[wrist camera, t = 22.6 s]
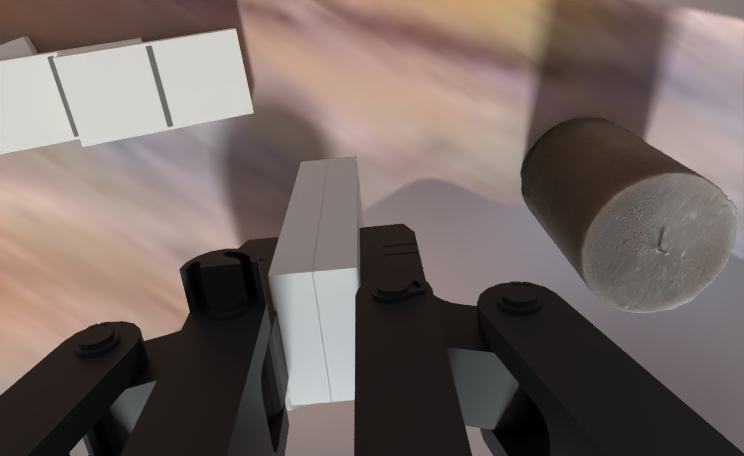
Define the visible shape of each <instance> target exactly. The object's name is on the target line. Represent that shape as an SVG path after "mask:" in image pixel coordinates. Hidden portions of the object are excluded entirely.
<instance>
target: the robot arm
mask: <svg viewBox="0 0 744 456" xmlns="http://www.w3.org/2000/svg"><path fill="white" fill-rule="evenodd" d="M363 225H364V224H363V214H362V205H361V195H360V186H359V177H358V167H357V158H356V156H355V157H345V158H335V159H324V160H314V161H304V162H301V164H300V167H299V171H298V174H297V178H296V181H295V185H294V188H293V191H292V195H291V198H290V202H289V205H288V209H287V212H286V215H285V219H284V222H283V226H282V229H281V233H280V236H279V237H275V238H265V239H254V240H248V241H247V242H246V243H245V244H243V245H242V246H241V247H240V248H238V249H222V250H217V251H211V252H208V253H205V254H202V255H199V256H197V257H195V258H193V259H192V260H190V261H188V262H186V263H185V264H184V265H183V266H182V267H181V268H180V269H179V270H180V274H181V278H182V282H183V286H184V290H185V294H186V298H187V302H188V306H189V310H190V313H189V315H188V317H187V319H186V321H185V323H184V325H183V327H182V329H181V331H178V332H175V333H172V334H169V335H165V336H161V337H158V338H154V339H150V340H147V341H143V337H142V334H141V330H140V328H139V327H137V326H136V325H135V324H134V323H128V322H123V321H120V322H104V323H100V324H99V325H98V324H95V325H92V326H89V327H88V328H87V329H85V330H82V331H80V332H78V333H76V334H74V335H73V336H71V337H70V338H68V339H67V340H65V341H64V342H62V343H61V344H60V345H59V346H58V347H57V348H55V349H54V350H53V351H52V352H51V353H50V354H48V355H47V356H46V357H45V358H44V359H43V360H41V361H40V362H39V363H38V364H37V365H36V366H34V367H33V368H32V369H31V370H30V371H29V372H27V373H26V374H25V375H24V376H23V377H22V378H20V379H19V380H18V381H17V382H16V383H15V384H13V385H12V386H11V387H10V388H9V389H8V390H6V391H5V392H4V393H3V394H2V395H0V456H70V454H69V453H70V451H71V450H72V449H73V448H74V447H75V446H76V444H77V443H78V442H79V441H80V440H81V439H82V438H83V440H84V443H85V445H86V448H87V451H88V453H89V455H88V456H285V449H286V442H287V435H288V428H289V421H288V415H287V409H286V404H285V398H286V392H287V386H288V388H289V394H290V399H291V405H303V404H314V403H325V402H336V401H347V400H355V434H354V435H355V438H354V443H355V444H354V456H472V453H471V449H470V445H469V441H468V436H467V432H466V428H465V425H466V426H473V427H479V428H480V431H481V433H482V436H483V439H484V441H485V443H486V445H487V446H488V448H489V450H490V451H491V453H492V454H493V456H744V453H743V452H741V451H740V450H739V449H738V448H737V447H736V446H734V445H733V444H732V443H731V442H729V440H727V439H726V438H725V437H724V436H723V435H722V434H720V433H719V432H718V431H717V430H716V429H715V428H713V427H712V426H711V425H710V424H709V423H707V422H706V421H705V420H704V419H703V418H702V417H700V416H699V415H698V414H697V413H696V412H694V410H692V409H691V408H690V407H689V406H687V405H686V404H685V403H684V402H683V401H682V400H681V399H679V398H678V397H677V396H676V395H675V394H673V393H672V392H671V391H670V390H669V389H668V388H666V387H665V386H664V385H663V384H662V383H661V382H660V381H658V380H657V379H656V378H655V377H654V376H652V375H651V374H650V373H649V372H648V371H647V370H645V369H644V368H643V367H642V366H641V365H640V364H638V363H637V362H636V361H635V360H634V359H633V358H631V357H630V356H629V355H628V354H627V353H626V352H624V351H623V350H622V349H621V348H620V347H618V346H617V345H616V344H615V343H614V342H613V341H611V340H610V339H609V338H608V337H607V336H606V335H604V334H603V333H602V332H601V331H600V330H598V329H597V328H596V327H595V326H594V325H593V324H592V323H590V322H589V321H588V320H587V319H586V318H585V317H583V316H582V315H581V314H580V313H579V312H578V311H576V310H575V309H574V308H573V307H571V306H570V305H569V304H568V303H567V302H566V301H565V300H563V299H562V298H561V297H560V296H559V295H557V294H556V293H555V292H553V291H551V290H549V289H548V288H546V287H543V286H539V285H536V284H532V283H530V282H522V283H521V282H510V283H502V284H499V285H495V286H493V287H490V288H488V289H486V290H485V291H484V292H483V293H481V294H480V296H479V299H478V302H477V306H471V305H462V304H455V303H451V302H448V301H444V300H442V299H440V298H438V297H436V296H435V295H434V294H433V290H432V288H431V286H430V285H429V283H428V282H427V281H426V280H425V276H424V271H423V267H422V263H421V258H420V254H419V250H418V245H417V241H416V237H415V232H414V231H412V230H411V229H410V228H408V227H407V226H405V225H404V224H395V225H384V226H374V227H364V226H363Z"/></svg>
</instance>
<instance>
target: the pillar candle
mask: <svg viewBox="0 0 744 456" xmlns="http://www.w3.org/2000/svg"><path fill="white" fill-rule="evenodd" d="M521 178H522V195H523V198H524V200H525V203H526V205H527V207H528V208H529V210H530V211H531V212H532V214H533V215H534V216H535V217H536V219H537V220H538V222H539V223H540V224H541V226H542V227H543V228H544V230H545V231H546V232H547V234H548V235H549V236H550V238H552V240H553V241H554V243H555V244H556V245H557V247H558V248H559V249H560V250H561V252H562V253H563V254H564V256H565V257H566V258H567V259H568V261H569V262H570V264H571V265H572V266H573V267H574V269H575V270H576V271H577V273H578V274H579V275H580V277H581V278H582V279H583V281H584V282H585V283H586V285H587V286H588V287H589V289H590V290H591V291H592V292H593V293H594V294H595V295H596V296H597V297H598V298H599V299H600V300H602V301H603V302H605V303H606V304H608V305H609V306H612V307H614V308H617V309H620V310H624V311H628V312H637V313H650V312H657V311H661V310H672V309H675V308H677V307H678V306H679V305H681V304H682V305H683V304H685V303H687V302H689V301H691V300H693V299H694V298H695V296H696V295H699V294H700V292H701V291H702V290H703V289H704V288H705V287H706V286H708V285H709V284H710V283H711V282H713V281H715V279H717V274H719V272H720V271H721V270H723V269H724V267H725V266H726V262H727V260H728V259H729V256H730V253H731V250H732V249H733V248H734V242H735V235H736V230H737V227H736V218H735V215H736V214H737V212H736V206H735V205H734V203H733V202H732V201H731V200H728V199H727V196H726V195H725V194H724V193H723V192H722V190H721V189H720V188H719V187H717V186H716V185H714V184H713V183H712V182H710V181H709V180H708V179H706V178H704V177H703V176H701V175H699V174H698V173H696V172H694V171H692V170H691V169H689V168H687V167H686V166H684V165H682V164H681V163H679V162H677V161H676V160H674V159H672V158H671V157H669V156H667V155H666V154H664V153H663V152H661V151H659V150H658V149H656V148H654V147H653V146H651V145H649V144H648V143H646V142H645V141H644V140H642V139H641V138H639V137H637V136H635V135H633V134H631V133H630V132H629V131H627V130H625V129H623V128H621V127H619V126H617V125H615V124H613V123H612V122H609V121H607V120H605V119H601V118H581V119H574V120H570V121H567V122H564V123H561V124H559V125H557V126H556V127H554V128H552V129H551V130H549V131H548V132H547V133H545V134H544V135H543V136H542V138H541V139H539V140H538V141H537V142H536V143H535V144H534V146H533V147H532V149H531V150H530V152H529V154H528V156H527V158H526V160H525V162H524V164H523V168H522V171H521Z"/></svg>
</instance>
